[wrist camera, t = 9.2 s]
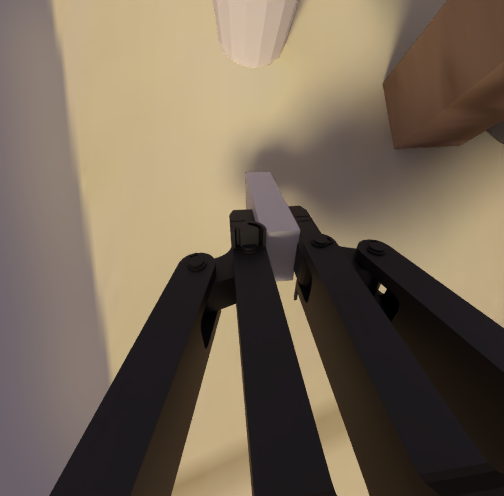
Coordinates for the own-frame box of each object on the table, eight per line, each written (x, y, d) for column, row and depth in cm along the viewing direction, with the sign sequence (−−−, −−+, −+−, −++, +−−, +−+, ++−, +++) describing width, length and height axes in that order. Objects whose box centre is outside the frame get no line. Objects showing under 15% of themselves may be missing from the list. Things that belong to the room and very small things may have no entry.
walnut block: (445, 82, 21) (641, -97, 11) (459, 145, 20) (682, 16, 10) (382, 83, 20) (528, -104, 10) (394, 148, 19) (563, 14, 9)
